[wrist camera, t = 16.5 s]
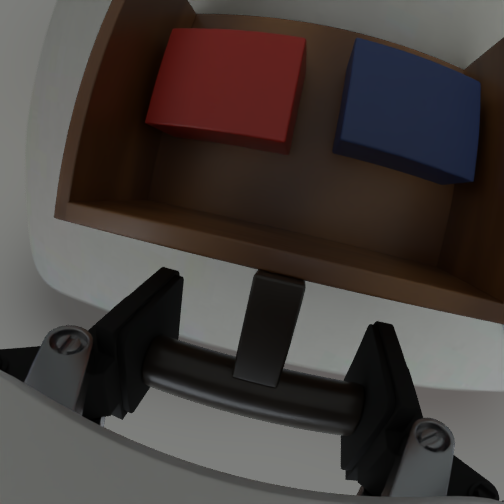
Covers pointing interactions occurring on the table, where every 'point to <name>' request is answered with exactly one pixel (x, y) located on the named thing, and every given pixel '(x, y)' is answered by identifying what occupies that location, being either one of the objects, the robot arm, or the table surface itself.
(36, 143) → the table surface
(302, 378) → the drawer
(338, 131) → the block
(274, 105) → the block
